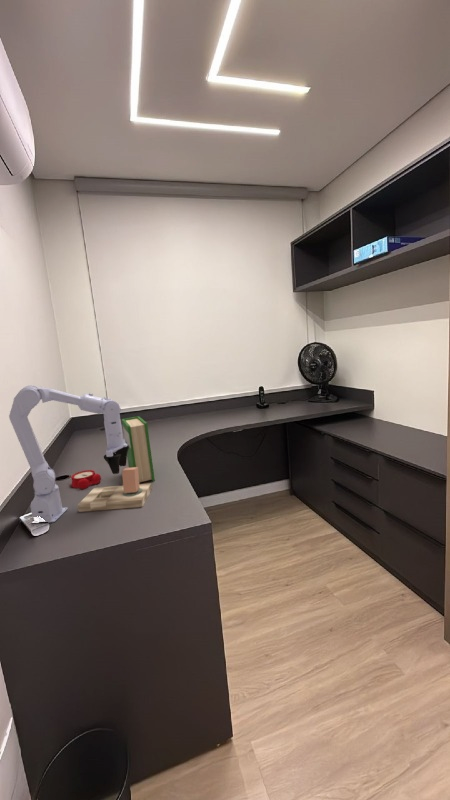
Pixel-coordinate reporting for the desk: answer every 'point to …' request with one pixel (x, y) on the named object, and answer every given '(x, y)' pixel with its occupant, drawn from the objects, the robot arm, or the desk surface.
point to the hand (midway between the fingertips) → (119, 469)
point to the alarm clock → (85, 479)
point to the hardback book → (138, 447)
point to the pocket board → (114, 498)
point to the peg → (130, 480)
